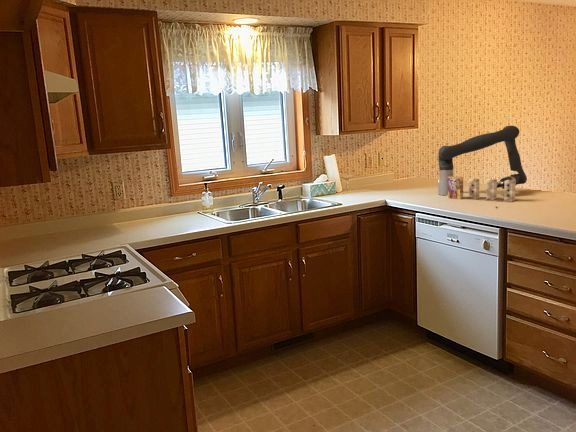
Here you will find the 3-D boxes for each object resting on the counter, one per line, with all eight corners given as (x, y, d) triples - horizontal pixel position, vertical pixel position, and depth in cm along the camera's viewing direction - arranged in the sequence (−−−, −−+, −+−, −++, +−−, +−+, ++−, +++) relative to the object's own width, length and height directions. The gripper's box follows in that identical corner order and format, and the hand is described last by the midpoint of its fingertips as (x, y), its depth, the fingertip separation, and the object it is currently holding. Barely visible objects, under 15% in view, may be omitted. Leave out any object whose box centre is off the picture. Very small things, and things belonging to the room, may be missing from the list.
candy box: (463, 200, 313) (463, 176, 310) (459, 201, 310) (459, 177, 307) (451, 199, 320) (451, 176, 317) (447, 200, 317) (447, 176, 314)
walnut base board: (464, 201, 311) (464, 198, 310) (471, 198, 317) (471, 196, 317) (512, 204, 289) (512, 202, 289) (519, 202, 296) (519, 199, 296)
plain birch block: (486, 199, 303) (486, 179, 301) (489, 198, 306) (489, 178, 304) (493, 199, 300) (493, 180, 298) (496, 198, 303) (496, 179, 301)
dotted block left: (469, 198, 311) (469, 179, 309) (472, 197, 314) (472, 178, 312) (475, 198, 308) (476, 179, 306) (479, 197, 311) (479, 178, 309)
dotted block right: (504, 200, 295) (504, 180, 293) (507, 199, 299) (507, 179, 296) (511, 201, 292) (512, 181, 290) (514, 200, 295) (515, 179, 293)
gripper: (497, 176, 322) (485, 179, 310) (518, 177, 313) (507, 180, 301) (497, 187, 324) (485, 191, 312) (518, 188, 314) (506, 192, 302)
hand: (496, 186), depth 306 cm, fingers closed
